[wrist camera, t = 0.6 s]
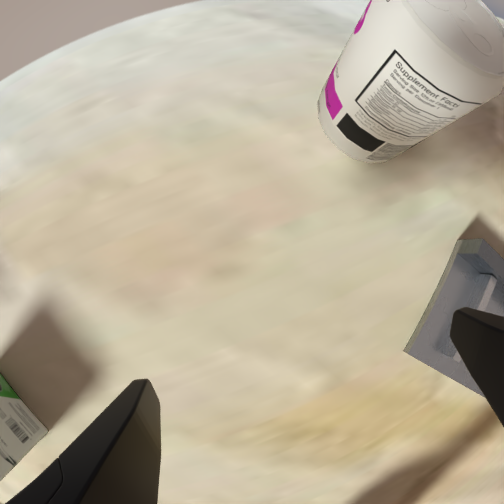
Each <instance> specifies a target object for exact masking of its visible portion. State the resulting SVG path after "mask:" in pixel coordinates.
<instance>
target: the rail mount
mask: <svg viewBox="0 0 504 504" xmlns="http://www.w3.org/2000/svg"><path fill="white" fill-rule="evenodd" d="M462 307H469V308H473V309H476V310H480V311H484V312H488V313H492V314H495V315H499V316H503V317H504V259H503V258H502V257H501V256H500V255H499V254H498V253H497V252H496V251H495V250H494V249H493V248H492V247H491V246H490V245H489V244H488V243H487V242H486V241H485V240H484V239H483V238H481V239H465V240H457V243H456V245H455V248H454V250H453V252H452V255H451V257H450V260H449V262H448V264H447V266H446V269H445V271H444V273H443V275H442V278H441V280H440V282H439V284H438V286H437V288H436V290H435V293H434V295H433V297H432V299H431V301H430V303H429V305H428V307H427V309H426V311H425V313H424V315H423V316H422V318H421V320H420V322H419V324H418V326H417V328H416V330H415V331H414V333H413V335H412V337H411V339H410V340H409V342H408V344H407V346H406V347H405V349H404V352H406V353H407V354H409V355H411V356H413V357H414V358H416V359H418V360H420V361H421V362H423V363H425V364H427V365H428V366H430V367H432V368H434V369H435V370H437V371H439V372H441V373H443V374H444V375H446V376H448V377H450V378H451V379H453V380H455V381H457V382H458V383H460V384H462V385H464V386H465V387H467V388H469V389H471V390H473V391H474V392H476V393H478V394H480V395H481V396H483V397H485V396H484V395H483V393H482V392H481V390H480V388H479V387H478V385H477V384H476V382H475V381H474V379H473V378H472V376H471V375H470V373H469V371H468V369H467V368H466V366H465V364H464V362H463V360H462V358H461V357H460V355H459V353H458V351H457V349H456V348H455V346H454V344H453V342H452V341H451V338H450V328H451V323H452V317H453V313H454V311H455V310H457V309H460V308H462Z"/></svg>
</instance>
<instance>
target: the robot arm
mask: <svg viewBox="0 0 504 504" xmlns="http://www.w3.org/2000/svg"><path fill="white" fill-rule="evenodd" d="M450 338H451V341H452V342H453V344H454V346H455V348H456V349H457V351H458V353H459V355H460V357H461V358H462V360H463V362H464V364H465V366H466V368H467V369H468V371H469V373H470V375H471V376H472V378H473V379H474V381H475V382H476V384H477V385H478V387H479V388H480V390H481V392H482V393H483V395H484V396H485V398H486V399H487V401H488V402H489V404H490V405H491V407H492V409H493V410H494V412H495V414H496V415H497V417H498V418H499V420H500V422H501V423H502V425H503V427H504V317H503V316H499V315H495V314H492V313H488V312H484V311H480V310H476V309H473V308H469V307H462V308H460V309H457V310H455V311H454V313H453V317H452V323H451V328H450ZM160 462H161V425H160V402H159V399H158V397H157V395H156V393H155V390H154V388H153V386H152V384H151V382H150V381H149V380H148V379H137V380H134V381H132V382H131V383H130V384H129V385H128V386H127V388H126V389H125V390H124V391H123V392H122V393H121V394H120V395H119V396H118V397H117V398H116V399H115V400H114V401H113V402H112V403H111V404H110V405H109V406H108V407H107V408H106V409H105V410H104V411H103V412H102V413H101V414H100V415H99V416H98V417H97V418H96V419H95V420H94V421H93V422H92V423H91V424H90V425H89V426H88V427H87V428H86V429H85V430H84V431H83V432H82V433H81V434H80V435H79V436H78V437H77V438H76V439H75V440H74V441H73V442H72V443H71V444H70V445H69V446H68V447H67V449H66V450H65V451H64V452H63V453H62V454H61V455H60V456H59V458H57V459H56V460H55V461H54V462H53V463H52V464H51V465H50V466H49V467H48V468H46V469H45V470H44V471H43V472H42V473H41V474H40V475H39V476H38V477H37V478H36V479H35V480H34V481H32V482H31V483H30V484H29V485H28V486H27V487H25V488H24V489H23V490H22V491H20V492H19V493H18V494H17V495H15V496H14V497H13V498H12V499H10V500H9V501H8V502H7V503H5V504H157V501H158V487H159V474H160Z"/></svg>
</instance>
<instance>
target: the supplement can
mask: <svg viewBox="0 0 504 504" xmlns="http://www.w3.org/2000/svg"><path fill="white" fill-rule="evenodd" d="M503 87H504V28H503V27H502V25H501V24H500V22H499V21H498V20H497V18H496V17H495V15H494V14H493V13H492V12H491V10H490V9H489V8H488V7H487V6H486V5H485V4H484V3H483V2H482V1H481V0H370V2H369V4H368V5H367V7H366V9H365V11H364V13H363V15H362V16H361V18H360V20H359V22H358V24H357V26H356V27H355V29H354V31H353V33H352V35H351V37H350V39H349V40H348V42H347V44H346V46H345V48H344V50H343V51H342V53H341V55H340V57H339V59H338V61H337V63H336V65H335V66H334V68H333V70H332V72H331V74H330V76H329V78H328V79H327V81H326V83H325V85H324V87H323V89H322V91H321V94H320V97H319V100H318V102H317V104H318V119H319V121H320V123H321V126H322V128H323V130H324V133H325V135H326V136H327V137H328V138H329V139H330V141H331V142H332V143H333V144H334V145H335V146H336V148H337V149H339V150H340V151H342V152H343V153H345V154H346V155H348V156H349V157H351V158H352V159H356V160H359V161H363V162H366V163H382V162H386V161H388V160H390V159H392V158H394V157H396V156H398V155H399V154H401V153H403V152H404V151H406V150H408V149H409V148H411V147H413V146H414V145H416V144H418V143H419V142H421V141H423V140H424V139H426V138H428V137H429V136H431V135H433V134H434V133H436V132H438V131H439V130H441V129H443V128H444V127H446V126H448V125H449V124H451V123H453V122H454V121H456V120H458V119H459V118H461V117H463V116H464V115H466V114H468V113H469V112H471V111H473V110H475V109H476V108H478V107H480V106H481V105H483V104H485V103H486V102H488V101H490V100H491V99H493V98H495V97H496V96H498V95H500V94H501V91H502V89H503Z"/></svg>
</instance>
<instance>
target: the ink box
mask: <svg viewBox="0 0 504 504" xmlns="http://www.w3.org/2000/svg"><path fill="white" fill-rule="evenodd" d="M47 433H48V430H47V428H46V427H45V426H44V425H43V424H42V423H41V422H40V421H39V420H38V419H37V418H36V417H35V415H34V414H33V413H32V412H31V411H30V410H29V409H28V407H27V406H26V405H25V404H24V403H23V402H22V400H21V399H20V398H19V397H18V396H17V394H16V393H15V392H14V391H13V389H12V388H11V387H10V386H9V384H8V383H7V382H6V380H5V379H4V378H3V376H2V375H1V374H0V481H1V480H2V479H3V478H4V477H5V476H6V475H7V474H8V473H9V472H10V471H11V470H12V469H13V468H14V467H15V466H16V465H17V464H18V463H19V462H20V461H21V460H22V458H23V457H24V456H25V455H26V454H27V453H28V452H29V451H30V450H31V449H32V448H33V447H34V446H35V445H36V444H37V443H38V442H39V441H40V440H41V439H42V438H43V437H44V436H45V435H46V434H47Z"/></svg>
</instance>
